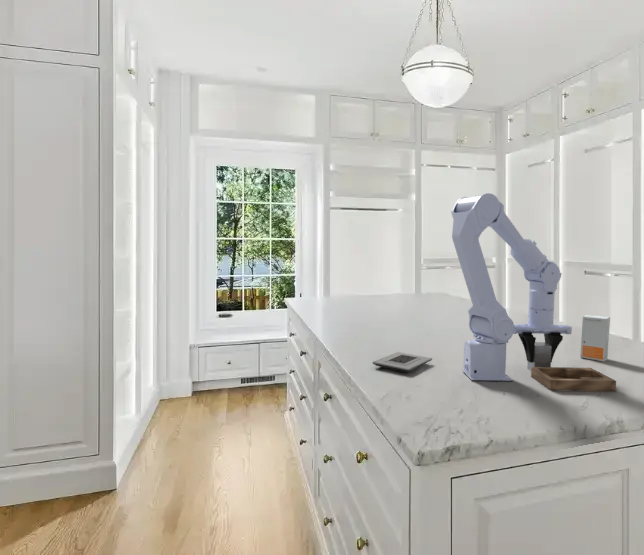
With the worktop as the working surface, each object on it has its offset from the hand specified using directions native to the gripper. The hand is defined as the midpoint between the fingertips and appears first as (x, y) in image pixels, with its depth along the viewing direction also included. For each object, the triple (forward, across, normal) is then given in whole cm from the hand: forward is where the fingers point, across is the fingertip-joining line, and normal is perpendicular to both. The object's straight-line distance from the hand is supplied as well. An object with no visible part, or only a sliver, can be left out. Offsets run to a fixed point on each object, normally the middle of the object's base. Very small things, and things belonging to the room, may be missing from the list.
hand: (539, 361), depth 111 cm
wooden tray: (+2, +3, -10) cm, 11 cm away
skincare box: (+3, +21, +13) cm, 24 cm away
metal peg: (+2, 0, 0) cm, 2 cm away
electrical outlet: (+3, -34, +3) cm, 34 cm away
